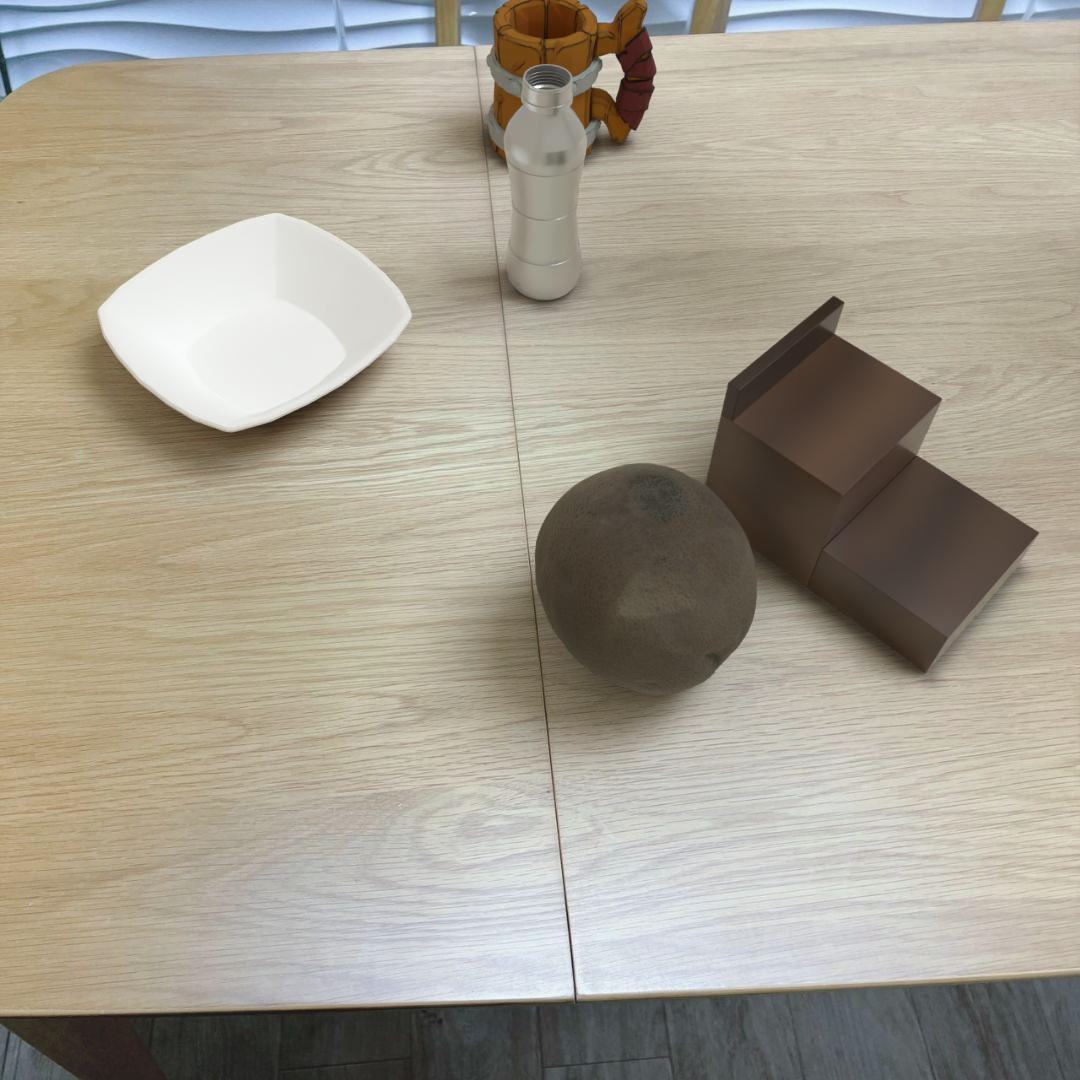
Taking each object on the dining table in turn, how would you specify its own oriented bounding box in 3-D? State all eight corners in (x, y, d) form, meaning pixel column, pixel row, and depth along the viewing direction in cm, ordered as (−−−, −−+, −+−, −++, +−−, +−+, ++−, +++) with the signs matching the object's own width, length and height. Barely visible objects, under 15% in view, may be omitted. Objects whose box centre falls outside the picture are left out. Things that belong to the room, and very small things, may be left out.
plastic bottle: (574, 314, 95) (586, 107, 79) (498, 304, 96) (495, 96, 80) (585, 266, 99) (599, 59, 83) (512, 257, 100) (511, 49, 83)
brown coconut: (725, 559, 80) (762, 422, 68) (746, 735, 72) (793, 614, 60) (533, 557, 80) (536, 419, 68) (532, 733, 72) (536, 612, 60)
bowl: (82, 356, 91) (61, 308, 87) (290, 239, 100) (280, 191, 96) (237, 503, 83) (222, 458, 78) (449, 360, 92) (446, 313, 88)
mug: (488, 109, 113) (486, -38, 101) (647, 115, 113) (663, -31, 101) (481, 172, 107) (477, 24, 95) (649, 179, 107) (667, 31, 95)
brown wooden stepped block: (1013, 572, 80) (1095, 447, 69) (924, 675, 75) (997, 559, 64) (792, 428, 88) (833, 294, 77) (698, 512, 83) (727, 382, 72)
